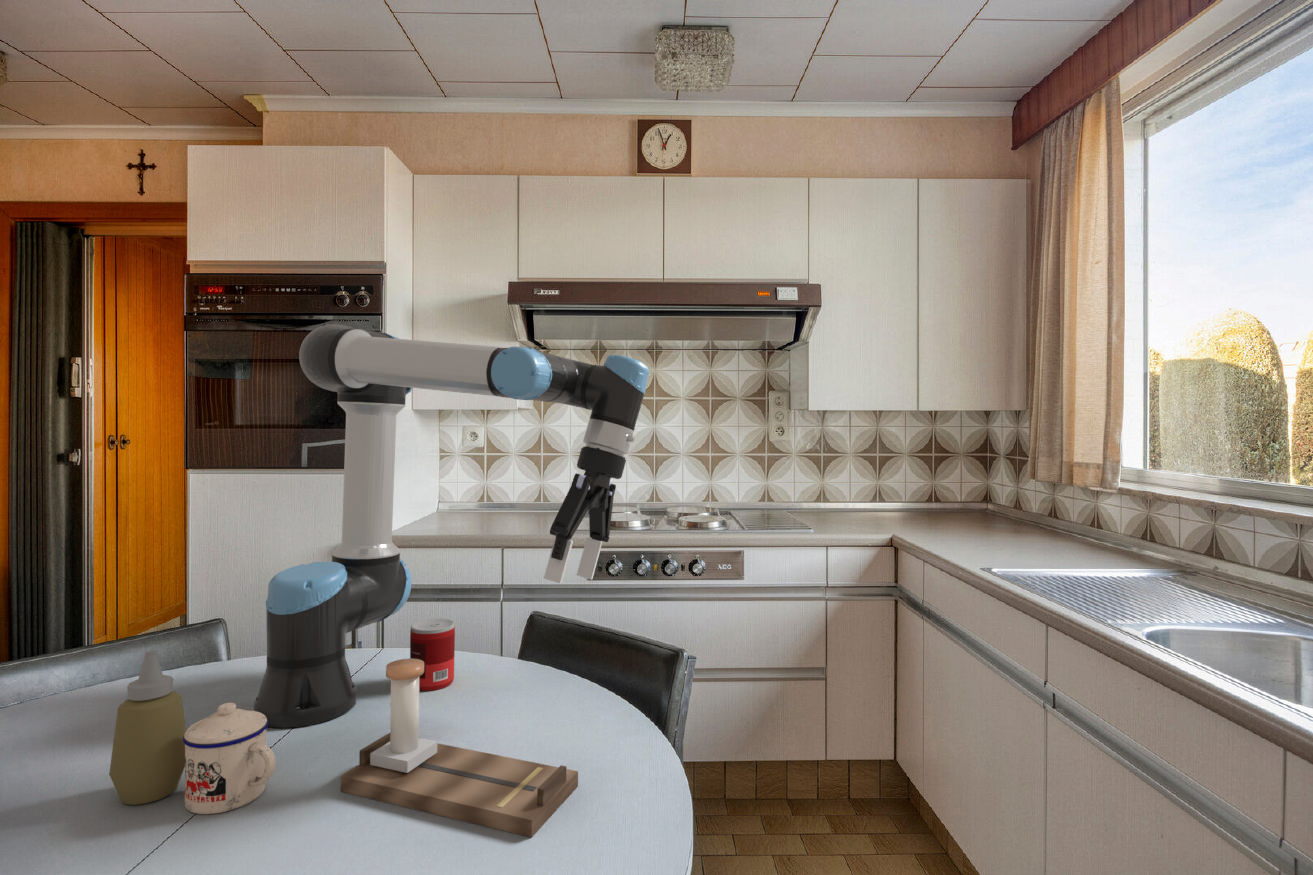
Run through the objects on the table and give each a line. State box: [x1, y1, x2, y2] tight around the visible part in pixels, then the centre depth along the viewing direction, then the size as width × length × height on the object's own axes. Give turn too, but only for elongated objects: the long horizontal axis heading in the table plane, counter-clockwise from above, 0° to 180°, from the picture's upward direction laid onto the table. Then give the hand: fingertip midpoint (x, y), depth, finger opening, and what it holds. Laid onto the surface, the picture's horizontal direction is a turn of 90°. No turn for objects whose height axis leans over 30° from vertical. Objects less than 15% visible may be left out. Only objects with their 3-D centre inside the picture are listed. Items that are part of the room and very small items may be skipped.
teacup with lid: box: [183, 702, 276, 815], centre depth 85 cm, size 12×9×12 cm
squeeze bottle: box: [108, 651, 187, 806], centre depth 86 cm, size 8×8×18 cm
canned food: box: [409, 618, 456, 692], centre depth 124 cm, size 8×8×11 cm
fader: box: [370, 658, 438, 773], centre depth 91 cm, size 6×6×13 cm
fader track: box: [340, 732, 579, 838], centre depth 88 cm, size 28×12×4 cm, turn 71°
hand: (569, 579), depth 107 cm, fingers open, 13 cm apart
